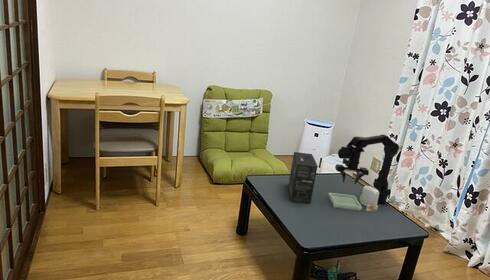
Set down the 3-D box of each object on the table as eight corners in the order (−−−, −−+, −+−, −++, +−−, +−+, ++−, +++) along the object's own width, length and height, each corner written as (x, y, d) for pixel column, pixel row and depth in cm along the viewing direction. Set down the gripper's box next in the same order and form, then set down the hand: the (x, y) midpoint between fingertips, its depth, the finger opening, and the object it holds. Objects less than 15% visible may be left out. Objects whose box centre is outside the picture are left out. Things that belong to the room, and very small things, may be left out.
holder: (368, 201, 235) (370, 196, 234) (376, 211, 221) (377, 206, 220) (359, 200, 235) (360, 195, 234) (366, 210, 221) (367, 205, 220)
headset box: (311, 203, 221) (318, 162, 214) (290, 201, 221) (297, 159, 214) (305, 188, 243) (312, 150, 236) (287, 186, 243) (293, 148, 236)
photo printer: (358, 203, 231) (362, 184, 228) (362, 202, 233) (367, 183, 230) (372, 210, 223) (377, 191, 220) (377, 209, 226) (381, 190, 222)
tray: (353, 199, 236) (354, 195, 235) (361, 210, 220) (361, 206, 220) (328, 196, 235) (329, 192, 235) (334, 207, 220) (334, 203, 219)
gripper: (365, 156, 228) (360, 180, 232) (335, 152, 227) (330, 176, 232) (371, 162, 217) (365, 187, 221) (340, 158, 217) (334, 183, 221)
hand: (348, 183), depth 224 cm, fingers open, 7 cm apart
